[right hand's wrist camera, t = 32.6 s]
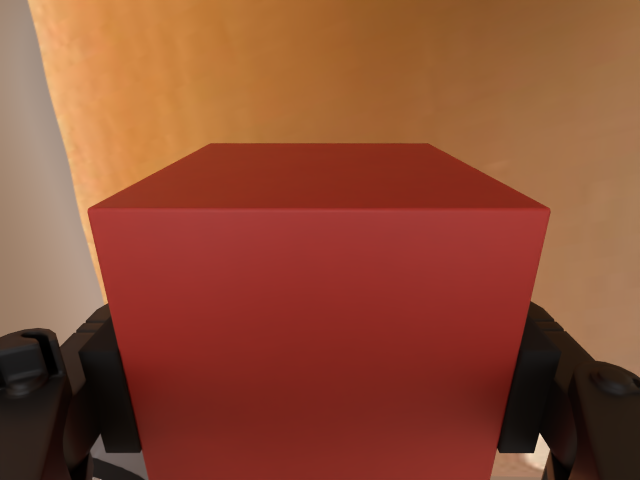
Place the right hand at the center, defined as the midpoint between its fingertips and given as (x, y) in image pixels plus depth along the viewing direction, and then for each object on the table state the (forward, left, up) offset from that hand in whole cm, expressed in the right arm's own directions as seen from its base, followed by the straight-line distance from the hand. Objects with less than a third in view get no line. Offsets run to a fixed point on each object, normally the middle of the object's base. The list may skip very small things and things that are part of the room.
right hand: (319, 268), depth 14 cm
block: (0, 0, -2) cm, 2 cm away
